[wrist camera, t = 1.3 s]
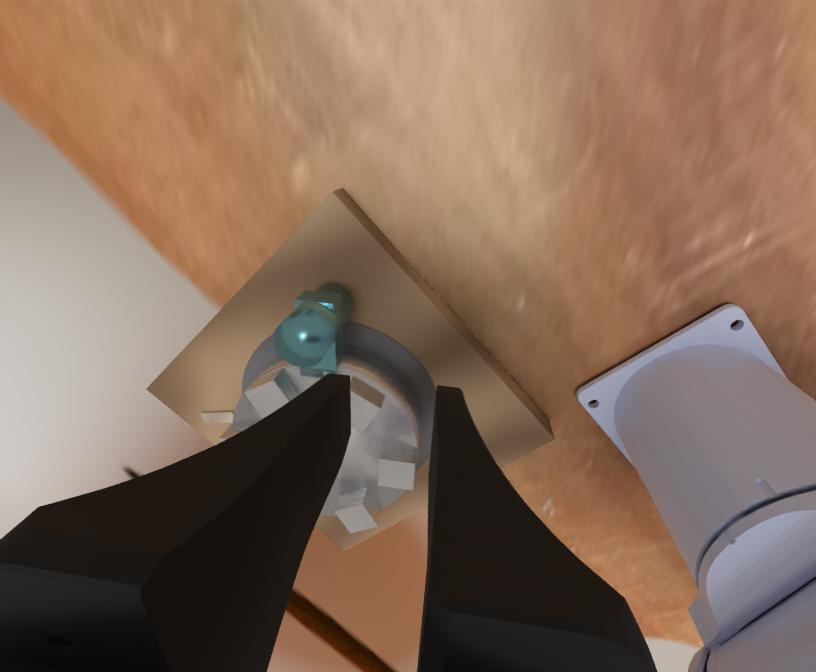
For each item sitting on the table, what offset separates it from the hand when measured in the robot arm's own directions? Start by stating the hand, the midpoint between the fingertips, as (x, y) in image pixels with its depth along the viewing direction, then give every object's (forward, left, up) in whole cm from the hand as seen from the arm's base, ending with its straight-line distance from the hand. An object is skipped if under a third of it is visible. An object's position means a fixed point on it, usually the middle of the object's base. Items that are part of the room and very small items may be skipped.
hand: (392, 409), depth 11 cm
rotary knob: (-1, +6, -7) cm, 10 cm away
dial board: (-2, +7, -9) cm, 12 cm away
